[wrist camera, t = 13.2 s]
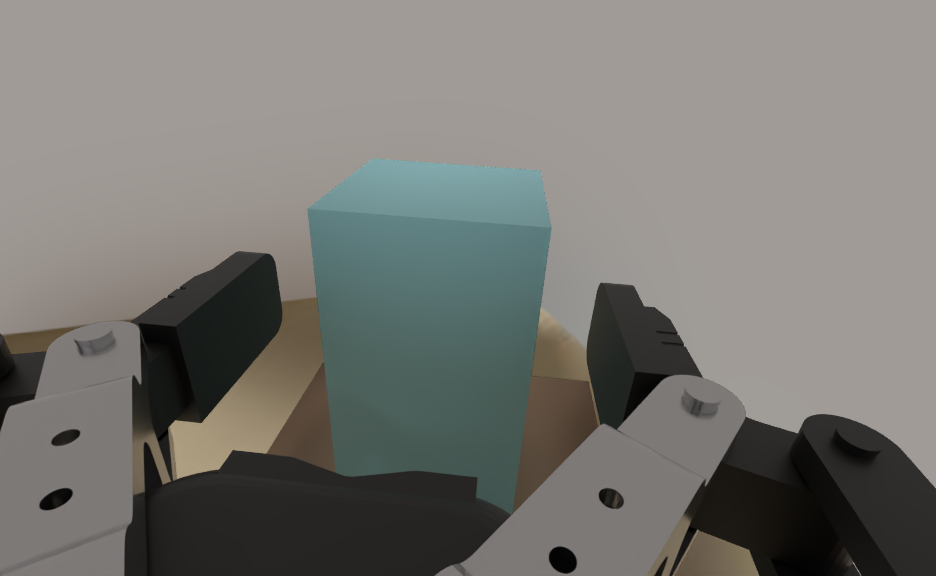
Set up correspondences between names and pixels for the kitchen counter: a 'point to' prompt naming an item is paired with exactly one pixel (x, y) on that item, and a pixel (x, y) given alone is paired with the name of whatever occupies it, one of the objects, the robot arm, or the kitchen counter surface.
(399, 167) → the teal pillar
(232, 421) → the kitchen counter surface
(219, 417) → the kitchen counter surface
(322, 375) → the walnut block
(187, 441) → the kitchen counter surface
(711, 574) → the kitchen counter surface
